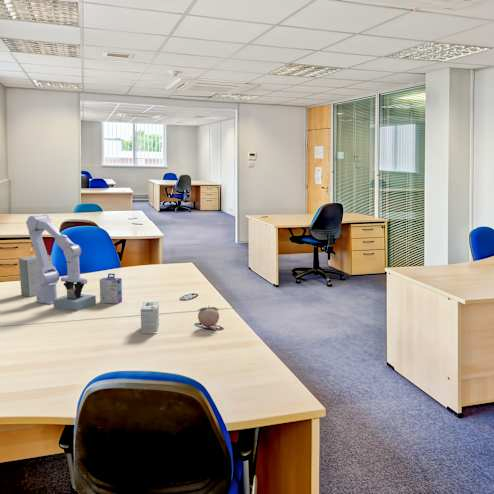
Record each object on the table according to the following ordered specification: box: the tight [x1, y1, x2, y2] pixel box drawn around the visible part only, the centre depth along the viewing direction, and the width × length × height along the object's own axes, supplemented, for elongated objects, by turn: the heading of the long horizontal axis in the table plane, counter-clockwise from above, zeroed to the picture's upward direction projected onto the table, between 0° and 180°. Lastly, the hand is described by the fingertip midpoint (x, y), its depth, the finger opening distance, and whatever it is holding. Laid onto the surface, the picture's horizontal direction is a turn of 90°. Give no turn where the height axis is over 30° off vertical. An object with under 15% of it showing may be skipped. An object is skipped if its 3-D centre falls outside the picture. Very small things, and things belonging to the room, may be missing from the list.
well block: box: [53, 293, 97, 312], centre depth 255 cm, size 14×14×4 cm
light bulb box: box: [140, 301, 160, 334], centre depth 219 cm, size 11×7×11 cm, turn 5°
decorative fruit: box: [197, 306, 220, 328], centre depth 222 cm, size 9×8×10 cm
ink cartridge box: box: [99, 273, 123, 304], centre depth 262 cm, size 10×6×14 cm, turn 79°
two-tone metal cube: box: [66, 287, 81, 300], centre depth 254 cm, size 4×5×6 cm
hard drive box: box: [18, 254, 54, 298], centre depth 278 cm, size 16×8×20 cm, turn 144°
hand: (74, 296), depth 255 cm, fingers closed on two-tone metal cube, 4 cm apart
